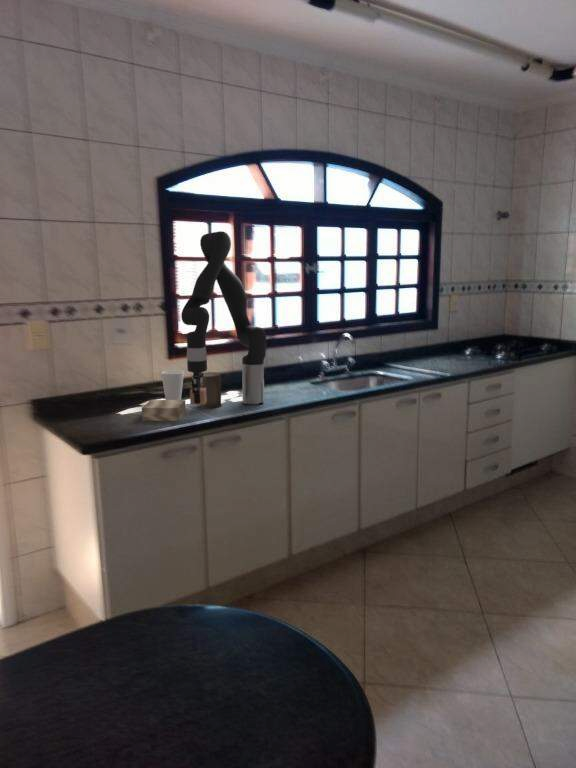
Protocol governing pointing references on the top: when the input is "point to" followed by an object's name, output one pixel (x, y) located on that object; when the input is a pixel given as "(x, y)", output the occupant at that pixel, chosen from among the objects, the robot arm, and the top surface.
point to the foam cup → (172, 384)
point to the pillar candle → (212, 389)
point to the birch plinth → (163, 410)
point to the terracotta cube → (202, 397)
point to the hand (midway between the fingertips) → (198, 401)
